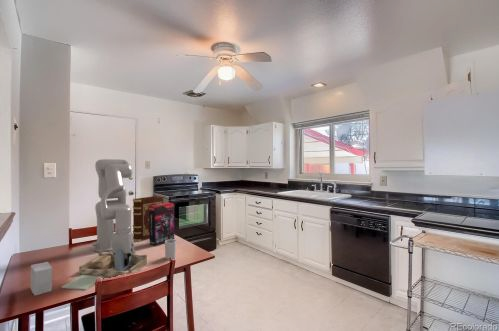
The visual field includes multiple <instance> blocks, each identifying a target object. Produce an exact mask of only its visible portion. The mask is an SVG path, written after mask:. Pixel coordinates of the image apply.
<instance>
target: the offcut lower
mask: <svg viewBox="0 0 499 331" xmlns="http://www.w3.org/2000/svg"><path fill="white" fill-rule="evenodd" d="M113 266H114V264H113V261H111V262H109V263H108V264H107V265H105V266H104V267H91V266H90V267H89V269H99V270H109V269H110V268H111V267H113Z"/></svg>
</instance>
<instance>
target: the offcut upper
mask: <svg viewBox="0 0 499 331" xmlns="http://www.w3.org/2000/svg"><path fill="white" fill-rule="evenodd" d="M98 256H99V255H98ZM98 256H97V257H98ZM97 257H95V258H96V259H95V258H94V259H95V260H93V259H92V260H93V261H91V260H90V261H91V267H104V266H105V265H107V264H108V263H109V262H111V256H99V257H98V258H97Z"/></svg>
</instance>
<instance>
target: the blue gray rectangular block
mask: <svg viewBox="0 0 499 331" xmlns="http://www.w3.org/2000/svg"><path fill="white" fill-rule="evenodd" d="M130 253H131V251H130ZM124 259H125V254H123V250H117V251H115V264H114V270H115V271H126V270H127V269H129V267H131V266H132V265H131V256H130V257H129V264H128V265H127V266H124Z"/></svg>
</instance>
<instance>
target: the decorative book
mask: <svg viewBox="0 0 499 331" xmlns="http://www.w3.org/2000/svg"><path fill="white" fill-rule="evenodd" d="M132 202H133V204H132V205H133V206H132V210H133V212H132V217H133V219H132V221H133V224H132V234H133V240H134V242H142V241H146V240H150V235H149V206H150V205H157V204H163V203H164V196H158V195H155V196H154V195H153V196H146V197H139V198H132Z"/></svg>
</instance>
